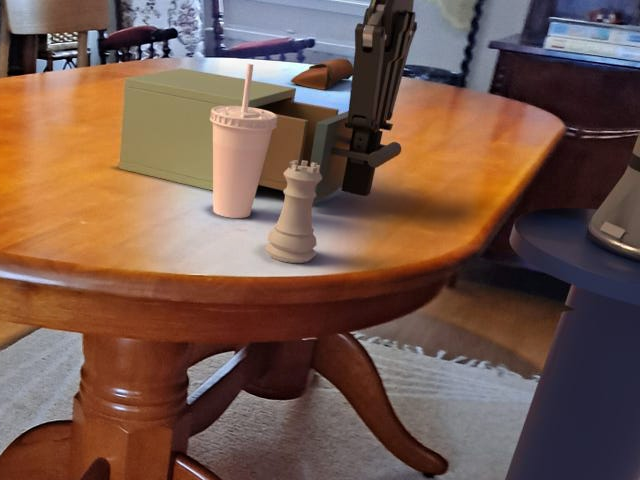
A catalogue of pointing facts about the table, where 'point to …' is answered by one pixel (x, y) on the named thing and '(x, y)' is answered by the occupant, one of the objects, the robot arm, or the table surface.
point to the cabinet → (181, 121)
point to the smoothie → (239, 153)
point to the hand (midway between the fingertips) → (355, 192)
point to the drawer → (314, 145)
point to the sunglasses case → (324, 74)
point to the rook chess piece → (296, 216)
